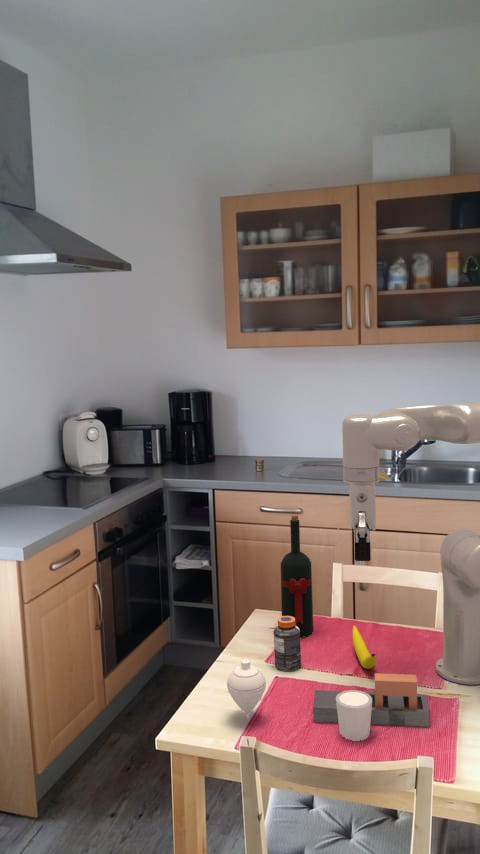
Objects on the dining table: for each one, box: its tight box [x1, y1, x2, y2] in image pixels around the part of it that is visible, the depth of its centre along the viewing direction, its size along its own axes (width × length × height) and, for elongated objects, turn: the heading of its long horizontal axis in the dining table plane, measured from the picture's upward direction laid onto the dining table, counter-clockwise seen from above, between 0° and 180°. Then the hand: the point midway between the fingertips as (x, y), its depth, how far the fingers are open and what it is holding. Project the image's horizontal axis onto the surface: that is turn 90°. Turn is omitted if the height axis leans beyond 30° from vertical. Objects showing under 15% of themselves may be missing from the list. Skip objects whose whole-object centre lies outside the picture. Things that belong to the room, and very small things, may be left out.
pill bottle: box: [273, 615, 302, 672], centre depth 170 cm, size 6×6×11 cm
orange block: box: [374, 673, 418, 709], centre depth 148 cm, size 8×3×8 cm, turn 81°
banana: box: [351, 624, 377, 670], centre depth 171 cm, size 3×19×6 cm, turn 4°
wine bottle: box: [280, 514, 314, 638], centre depth 187 cm, size 8×10×30 cm
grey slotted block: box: [312, 689, 430, 728], centre depth 149 cm, size 22×7×3 cm, turn 81°
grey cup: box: [336, 689, 372, 742], centre depth 142 cm, size 7×7×7 cm
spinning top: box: [226, 658, 267, 719], centre depth 149 cm, size 8×8×12 cm
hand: (362, 553), depth 160 cm, fingers open, 9 cm apart
